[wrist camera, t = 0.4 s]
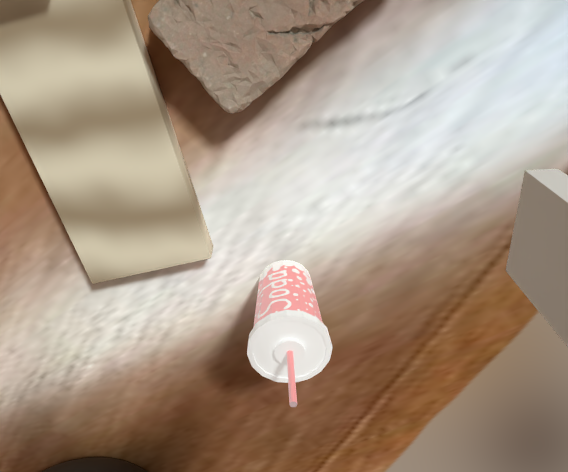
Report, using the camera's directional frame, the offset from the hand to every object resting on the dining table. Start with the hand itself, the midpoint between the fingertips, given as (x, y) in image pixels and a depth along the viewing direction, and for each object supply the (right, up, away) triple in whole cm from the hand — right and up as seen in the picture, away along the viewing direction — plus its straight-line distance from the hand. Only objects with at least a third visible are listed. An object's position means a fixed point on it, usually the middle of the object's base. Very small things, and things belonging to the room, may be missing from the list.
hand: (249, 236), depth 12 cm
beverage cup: (+1, -4, +32) cm, 32 cm away
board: (-13, +9, +24) cm, 29 cm away
